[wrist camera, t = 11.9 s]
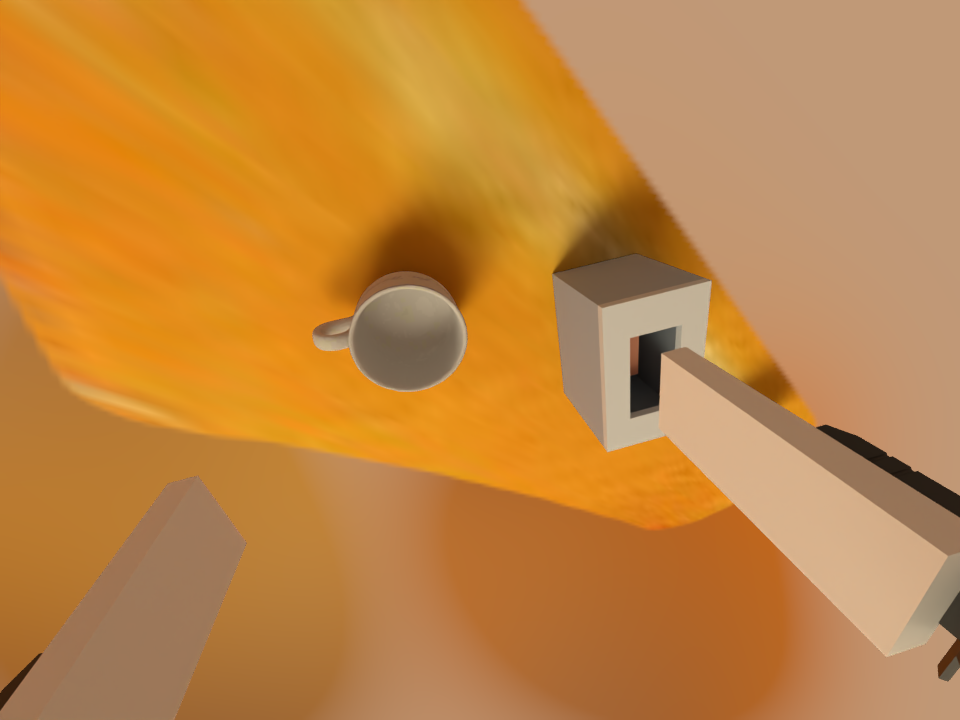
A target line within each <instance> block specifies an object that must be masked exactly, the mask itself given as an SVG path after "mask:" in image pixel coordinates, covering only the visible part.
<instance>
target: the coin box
mask: <svg viewBox="0 0 960 720" xmlns="http://www.w3.org/2000/svg"><path fill="white" fill-rule="evenodd" d="M552 276H553V286H554V296H555V306H556V316H557V326H558V336H559V346H560V356H561V366H562V376H563V386H564V393H565V394H566V396H567V397H568V399H569V400H570V401H571V403H572V404H573V405H574V407H575V408H576V409H577V411H578V412H579V414H580V415H581V416H582V418H583V419H584V420H585V422H586V423H587V425H588V426H589V427H590V429H591V430H592V431H593V433H594V434H595V436H596V437H597V438H598V440H599V441H600V442H601V444H602V445H603V446H604V448H605V449H606V451H607V452H609V451H613V450H617V449H620V448H624V447H627V446H631V445H634V444H638V443H641V442H645V441H649V440H652V439H656V438H659V437H663V436H666V435H665V434H664V433H663V432H662V431H661V430H660V429H659V428H658V427H659V402H660V378H661V353H664V352H668V351H672V350H675V349H679V348H683V347H687V348H689V349H690V350H692V351H694V352H695V353H697V354H698V355H700V356H702V357H703V358H704V352H705V343H706V333H707V323H708V313H709V303H710V293H711V283H712V281H711V280H709V279H706V278H703V277H700V276H698V275H695V274H692V273H689V272H686V271H684V270H681V269H678V268H675V267H673V266H670V265H667V264H664V263H661V262H659V261H656V260H653V259H650V258H648V257H645V256H642V255H639V254H632V255H628V256H624V257H620V258H616V259H611V260H607V261H603V262H599V263H595V264H591V265H587V266H582V267H578V268H574V269H570V270H566V271H562V272H558V273H553V274H552ZM636 336H639V353H638V374H635V375H632V376H630V338H633V337H636Z"/></svg>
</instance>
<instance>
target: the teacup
mask: <svg viewBox="0 0 960 720" xmlns="http://www.w3.org/2000/svg"><path fill="white" fill-rule="evenodd" d="M312 337H313V341H314V344H315V345H316V347H317V348H319V349H321V350H325V351H336V350H341V349H345V348H348V347H349V348H350V352H351V355H352V358H353V360H354V362H355V363H356V365H357V367H358V368H359V370H360V371H361V372H362V373H363V374H364V375H365V376H366V377H367V378H368V379H370V380H371V381H372V382H374V383H376V384H378V385H380V386H382V387H384V388H387V389H391V390H396V391H402V392H412V391H420V390H424V389H428V388H430V387H433V386H435V385H437V384H439V383H441V382H442V381H444V380H445V379H446V378H448V377H449V376H450V375H451V374H452V373H453V372H454V371H455V370H456V368H457V367H458V366H459V364H460V362H461V361H462V358H463V356H464V354H465V350H466V347H467V328H466V323H465V321H464V318H463V316H462V314H461V312H460V311H459V309H458V307H457V305H456V303H455V301H454V299H453V298H452V296H451V295H450V293H449V292H448V291H447V289H446V288H445V287H444V286H443V285H441V284H440V283H439V282H438V281H436V280H435V279H433V278H431V277H429V276H427V275H424V274H422V273H417V272H411V271H400V272H394V273H390V274H387V275H385V276H383V277H381V278H379V279H377V280H376V281H375V282H373V283H372V284H371V285H370V286H369V287H368V288H367V289H366V290H365V291H364V293H363V294H362V296H361V298H360V299H359V302H358V304H357V306H356V309H355V313H354V315H353V316H351V317H348V318H344V319H339V320H334V321H330V322H327V323H324V324H321V325H319V326H317V327H316V328H315V329H314V331H313V336H312Z"/></svg>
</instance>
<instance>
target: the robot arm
mask: <svg viewBox="0 0 960 720" xmlns="http://www.w3.org/2000/svg"><path fill="white" fill-rule="evenodd" d="M658 428H659V429H660V430H661V431H662V432H663V433H664V434H665V435H666V436H667V437H668V438H669V439H670V440H671V441H672V442H673V443H674V444H675V445H676V446H677V447H678V448H679V449H680V450H681V451H682V452H683V453H684V454H685V455H686V456H687V457H688V458H689V459H690V460H691V461H692V462H693V463H694V464H695V465H696V466H697V467H698V468H699V469H700V470H701V471H702V472H703V473H704V474H705V475H706V476H707V477H708V478H709V479H710V480H711V481H712V482H713V483H714V484H715V485H716V486H717V487H718V488H719V489H720V490H721V491H722V492H723V493H724V494H725V495H726V496H727V497H728V498H729V499H730V500H731V501H732V502H733V503H734V504H735V505H736V506H737V507H738V508H739V509H740V510H741V511H742V512H743V513H744V514H745V515H746V516H747V517H748V518H749V519H750V520H751V521H752V522H753V523H754V524H755V525H756V526H757V527H758V528H759V529H760V530H761V531H762V532H763V533H764V534H765V535H766V536H767V537H768V538H769V539H770V540H771V541H772V542H773V543H774V544H775V545H776V546H777V547H778V548H779V549H780V550H781V551H782V552H783V553H784V554H785V555H786V556H787V557H788V558H789V559H790V560H791V561H792V562H793V564H795V566H797V567H798V569H800V571H801V572H802V573H803V574H804V575H805V576H807V577H808V578H809V580H811V582H812V583H813V584H814V585H815V586H816V587H817V588H818V589H820V591H821V592H822V593H823V594H824V595H825V596H826V597H827V598H828V599H829V600H830V601H831V602H832V603H833V604H834V605H835V606H836V607H837V608H838V609H839V610H840V611H841V612H842V613H843V614H844V615H845V616H846V617H847V618H848V619H849V620H850V621H851V622H852V623H853V624H854V625H855V626H856V627H857V628H858V629H859V630H860V631H861V632H862V633H863V634H864V635H865V636H866V637H867V638H868V639H869V640H870V641H871V642H872V643H873V644H874V645H875V646H876V647H877V648H878V649H879V650H880V651H881V652H882V653H883V654H884V655H885V656H886V657H888V656H891V655H894V654H897V653H900V652H903V651H905V650H909V649H911V648H914V647H917V646H920V645H923V644H926V642H927V641H928V640H929V638H930V637H931V635H932V634H933V632H934V631H935V629H936V628H937V626H938V625H939V624H941V625H942V626H943V627H944V628H945V629H946V630H948V631H949V632H950V633H951V634H953V635H954V636H955V637H956V638H957V640H956V642H955V643H954V644H953V645H952V647H951V648H950V649H949V651H948V652H947V653H946V655H945V656H944V657H943V659H942V660H941V661H940V663H939V664H938V676H939V678H940V679H942V680H945V681H949V680H950V679H951V678H952V676H953V675H954V674H955V673H956V671H957V670H958V669H959V668H960V496H959V495H957V494H956V493H954V492H952V491H951V490H949V489H947V488H946V487H944V486H942V485H941V484H939V483H937V482H935V481H934V480H932V479H930V478H928V477H927V476H925V475H923V474H922V473H920V472H918V471H916V472H914V471H912V469H911V467H910V466H908V465H906V464H905V463H903V462H901V461H899V460H898V459H896V458H894V457H889V456H887V453H886V452H884V451H882V450H881V449H879V448H877V447H875V446H874V445H872V444H870V443H869V442H867V441H865V440H864V439H862V438H860V437H858V436H856V435H853V434H850V433H848V432H845V431H842V430H839V429H837V428H834V427H831V426H828V425H823V426H820V427H816V428H815V427H814V426H812V425H811V424H809V423H807V422H806V421H804V420H803V419H801V418H799V417H798V416H796V415H795V414H793V413H791V412H790V411H788V410H787V409H785V408H783V407H782V406H780V405H779V404H777V403H775V402H774V401H772V400H771V399H769V398H767V397H766V396H764V395H763V394H761V393H759V392H758V391H756V390H754V389H753V388H751V387H750V386H748V385H746V384H745V383H743V382H742V381H740V380H738V379H737V378H735V377H734V376H732V375H730V374H729V373H727V372H726V371H724V370H722V369H721V368H719V367H718V366H716V365H714V364H713V363H711V362H710V361H708V360H706V359H705V358H703V357H702V356H700V355H698V354H697V353H695V352H694V351H692V350H690V349H689V348H687V347H683V348H679V349H675V350H672V351H668V352H664V353H661V378H660V402H659V427H658ZM245 546H246V541H245V540H244V539H243V537H242V536H241V535H240V533H239V532H238V530H237V529H236V527H235V526H234V525H233V524H232V522H231V521H230V519H229V518H228V516H227V515H226V514H225V512H224V511H223V510H222V508H221V507H220V505H219V504H218V503H217V501H216V500H215V499H214V497H213V496H212V494H211V493H210V492H209V490H208V489H207V487H206V486H205V485H204V483H203V482H202V481H201V479H200V478H199V476H194V477H191V478H187V479H183V480H180V481H175V482H172V483H168V484H167V485H166V487H165V488H164V490H163V491H162V492H161V494H160V495H159V497H158V498H157V499H156V500H155V502H154V503H153V505H152V506H151V507H150V509H149V510H148V511H147V513H146V514H145V515H144V517H143V518H142V519H141V521H140V522H139V523H138V525H137V526H136V528H135V529H134V530H133V532H132V533H131V534H130V536H129V537H128V538H127V540H126V541H125V542H124V544H123V545H122V547H121V548H120V549H119V551H118V552H117V553H116V555H115V556H114V557H113V559H112V560H111V561H110V563H109V564H108V566H107V567H106V568H105V570H104V571H103V572H102V574H101V575H100V576H99V578H98V579H97V580H96V582H95V583H94V585H93V586H92V587H91V589H90V590H89V591H88V593H87V594H86V595H85V597H84V598H83V599H82V601H81V602H80V604H79V605H78V606H77V608H76V609H75V610H74V612H73V613H72V614H71V616H70V617H69V619H68V620H67V621H66V622H65V624H64V625H63V627H62V628H61V629H60V631H59V632H58V633H57V635H56V636H55V637H54V639H53V640H52V641H51V643H50V644H49V646H48V647H47V648H46V650H45V651H44V652H43V653H41V654H38V655H37V656H36V657H35V658H34V659H33V660H32V661H31V662H30V663H29V664H28V665H27V666H26V667H25V668H24V669H23V670H22V671H21V672H20V673H19V674H18V675H17V676H16V677H15V678H14V679H13V680H12V681H11V682H10V683H9V684H8V685H7V686H6V687H5V688H4V689H3V690H2V691H1V693H0V720H174V719H175V717H176V714H177V712H178V709H179V707H180V704H181V701H182V699H183V697H184V695H185V692H186V690H187V687H188V685H189V682H190V680H191V677H192V675H193V673H194V670H195V668H196V665H197V663H198V660H199V658H200V655H201V653H202V651H203V648H204V646H205V643H206V641H207V639H208V636H209V633H210V631H211V628H212V626H213V624H214V622H215V619H216V617H217V614H218V612H219V609H220V607H221V604H222V602H223V600H224V597H225V595H226V592H227V590H228V587H229V585H230V582H231V580H232V578H233V575H234V573H235V570H236V568H237V565H238V563H239V561H240V558H241V556H242V553H243V551H244V548H245Z"/></svg>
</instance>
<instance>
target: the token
mask: <svg viewBox="0 0 960 720" xmlns="http://www.w3.org/2000/svg"><path fill="white" fill-rule="evenodd" d="M638 353H639V336H636V337H633V338H630V376H632V375H635V374H638Z"/></svg>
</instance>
